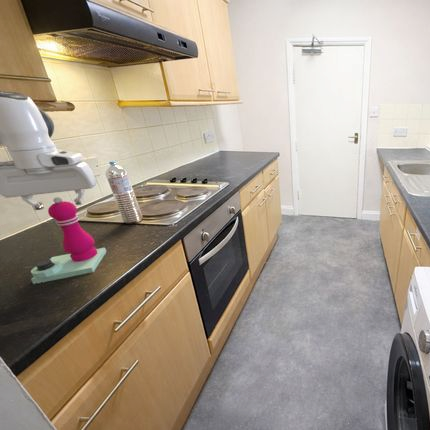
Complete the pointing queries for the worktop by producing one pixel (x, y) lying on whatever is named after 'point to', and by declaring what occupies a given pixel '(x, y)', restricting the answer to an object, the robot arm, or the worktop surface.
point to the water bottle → (123, 194)
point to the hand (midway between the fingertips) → (60, 206)
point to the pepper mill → (72, 231)
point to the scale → (67, 267)
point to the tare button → (44, 265)
